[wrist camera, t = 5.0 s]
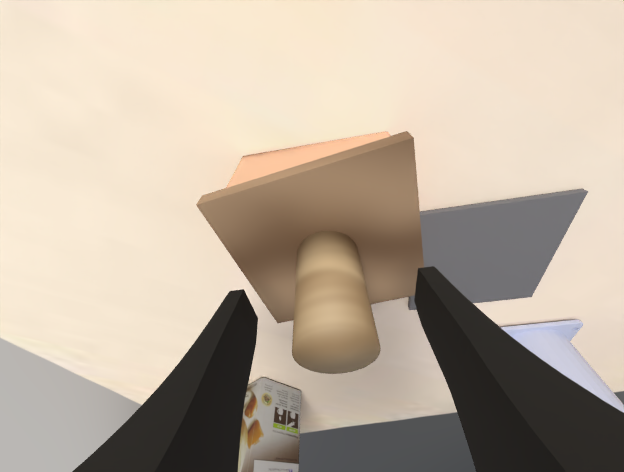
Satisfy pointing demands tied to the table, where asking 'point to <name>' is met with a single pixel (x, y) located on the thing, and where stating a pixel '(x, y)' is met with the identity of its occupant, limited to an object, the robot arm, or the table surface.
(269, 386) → the coffee box
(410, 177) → the lid
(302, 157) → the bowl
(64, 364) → the table surface
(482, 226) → the mat
